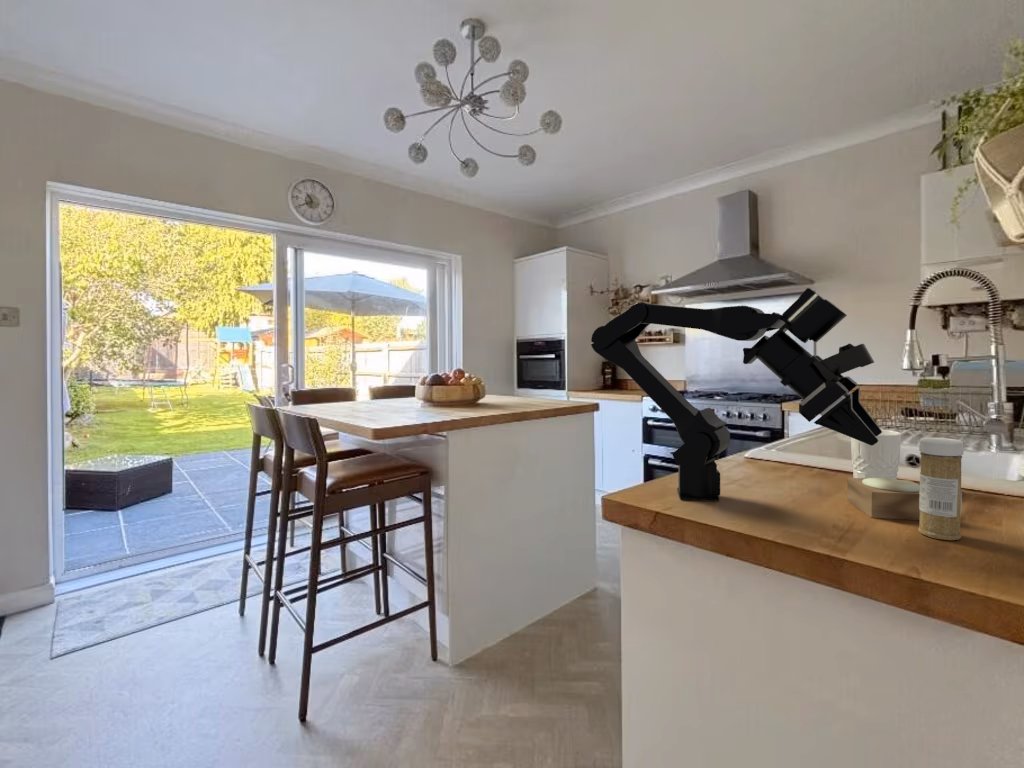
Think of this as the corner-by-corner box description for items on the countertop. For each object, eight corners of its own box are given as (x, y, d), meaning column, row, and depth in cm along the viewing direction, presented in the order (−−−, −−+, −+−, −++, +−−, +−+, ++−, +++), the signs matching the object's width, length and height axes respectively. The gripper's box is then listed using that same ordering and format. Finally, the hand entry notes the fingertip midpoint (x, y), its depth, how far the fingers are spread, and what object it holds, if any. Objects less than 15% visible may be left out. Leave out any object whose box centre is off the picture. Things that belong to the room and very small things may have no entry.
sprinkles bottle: (965, 536, 67) (968, 439, 66) (954, 544, 65) (957, 443, 64) (924, 527, 71) (926, 435, 70) (911, 534, 68) (914, 438, 68)
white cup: (850, 476, 100) (850, 427, 100) (899, 481, 96) (900, 430, 95) (849, 484, 94) (850, 433, 93) (901, 490, 89) (902, 436, 89)
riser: (871, 517, 75) (871, 490, 75) (847, 500, 84) (847, 475, 84) (940, 521, 73) (941, 492, 73) (908, 503, 82) (909, 478, 82)
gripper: (826, 323, 67) (931, 407, 60) (842, 327, 81) (928, 396, 75) (763, 380, 72) (853, 463, 66) (788, 375, 87) (864, 442, 80)
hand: (877, 438), depth 72 cm, fingers open, 9 cm apart
